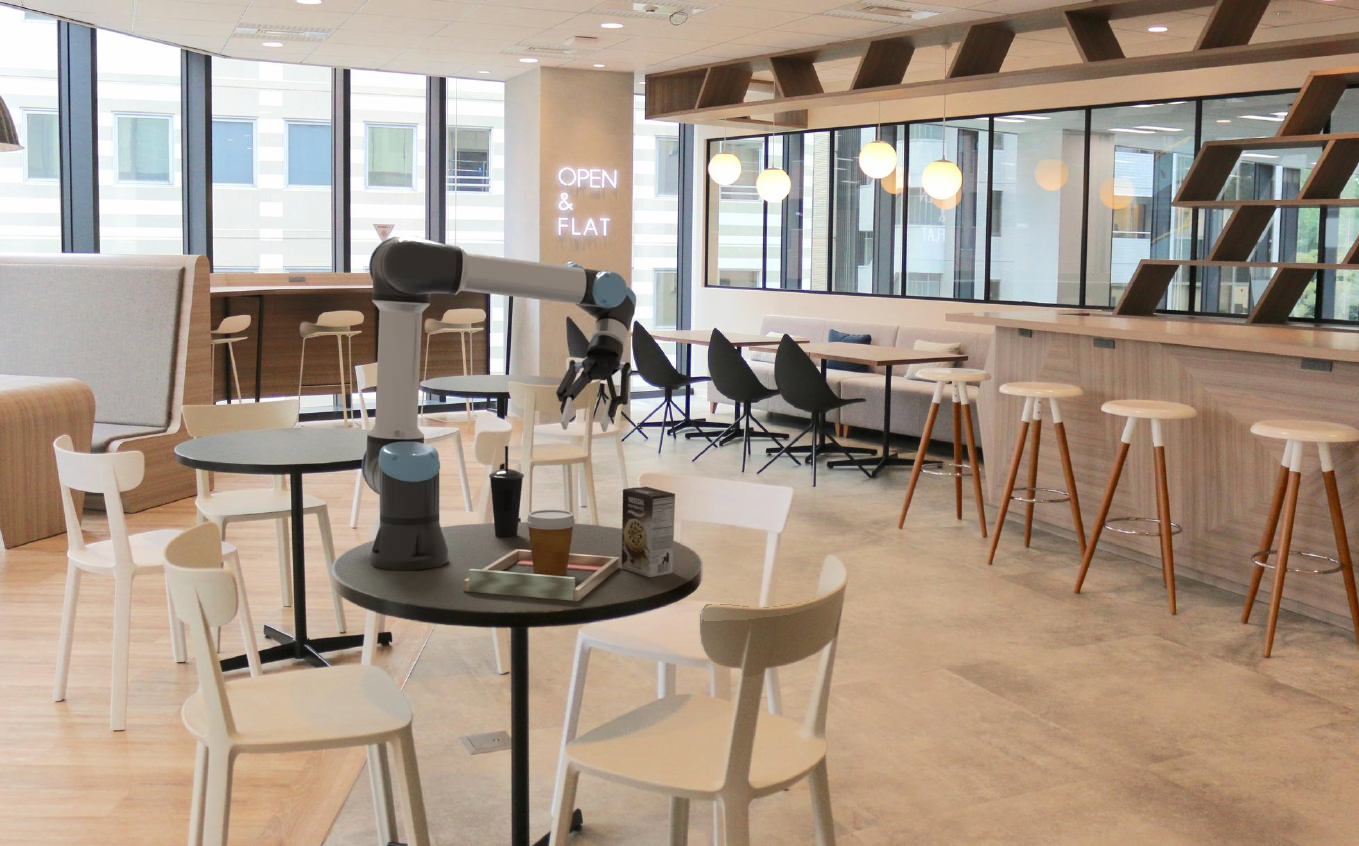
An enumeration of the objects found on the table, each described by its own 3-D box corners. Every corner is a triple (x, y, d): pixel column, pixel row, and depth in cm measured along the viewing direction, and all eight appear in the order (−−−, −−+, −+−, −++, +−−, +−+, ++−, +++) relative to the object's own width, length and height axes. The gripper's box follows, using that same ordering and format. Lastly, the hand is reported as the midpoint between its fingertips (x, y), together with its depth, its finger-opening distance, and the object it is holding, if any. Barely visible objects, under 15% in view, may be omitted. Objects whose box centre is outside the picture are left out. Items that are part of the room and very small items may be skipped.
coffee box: (619, 568, 235) (621, 488, 233) (644, 564, 239) (646, 485, 237) (649, 578, 228) (650, 495, 226) (674, 573, 232) (676, 492, 230)
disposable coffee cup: (576, 569, 234) (576, 509, 232) (573, 581, 224) (574, 519, 223) (527, 568, 233) (528, 508, 232) (523, 580, 224) (523, 518, 223)
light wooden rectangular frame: (463, 590, 216) (463, 569, 215) (515, 558, 241) (515, 539, 241) (578, 601, 211) (578, 579, 210) (619, 567, 236) (619, 547, 236)
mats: (516, 564, 236) (516, 563, 236) (523, 560, 240) (523, 559, 240) (603, 571, 232) (603, 570, 232) (608, 567, 236) (608, 566, 235)
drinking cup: (530, 534, 264) (531, 445, 261) (508, 540, 257) (508, 449, 255) (504, 530, 268) (504, 442, 265) (481, 535, 261) (481, 446, 259)
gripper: (655, 358, 259) (634, 440, 245) (565, 354, 263) (540, 435, 250) (650, 334, 253) (628, 417, 239) (558, 331, 258) (531, 412, 244)
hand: (583, 426), depth 245 cm, fingers open, 8 cm apart
